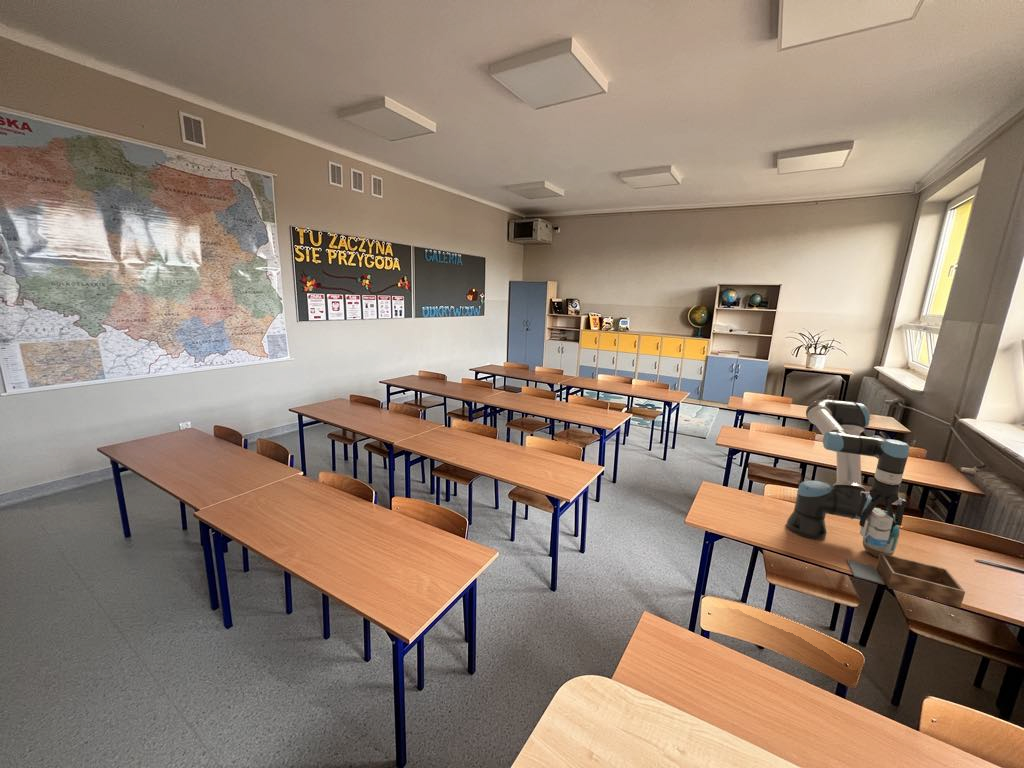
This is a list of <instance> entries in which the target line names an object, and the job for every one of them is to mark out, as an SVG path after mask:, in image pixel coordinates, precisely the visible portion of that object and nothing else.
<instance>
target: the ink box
mask: <svg viewBox="0 0 1024 768" xmlns="http://www.w3.org/2000/svg"><path fill="white" fill-rule="evenodd" d="M882 510H883V509H881V507H880V508H879V507H875V508H874V509H873V510H872V512H871V513H870V515H869V516H868V517H867V519H868V525H867V529H866V533H865V536H862V534H861V533H860V532H861V527H862V526H860V530H859V535H860V536H862V538H863V537H864V538H865V539H867V540H868V541H869V542H870V543H871V544H872V545H877V546H885V547H886V546H887V542H888V538H889V534H890V530H891V527H892V523H893V518H891V517H890V516H889V515H888V514H886V513H885V512H884V511H885V510H883V511H882Z"/></svg>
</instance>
